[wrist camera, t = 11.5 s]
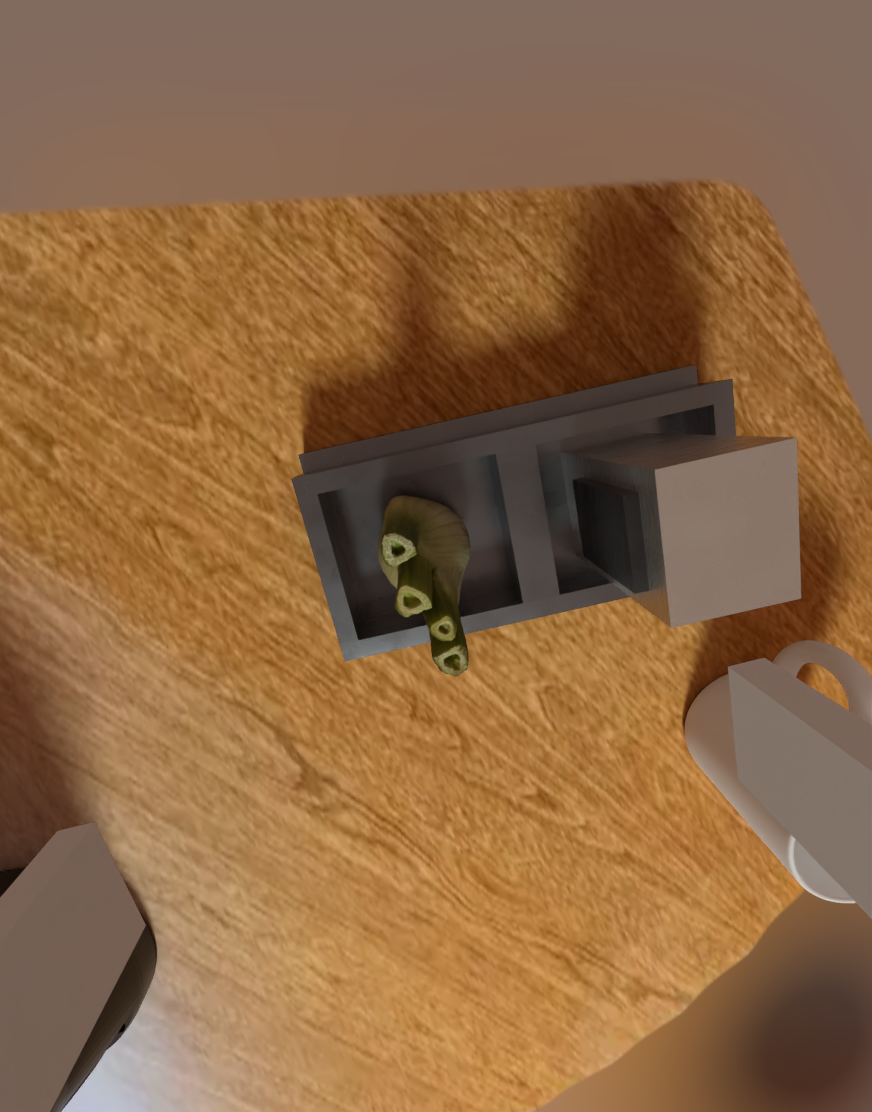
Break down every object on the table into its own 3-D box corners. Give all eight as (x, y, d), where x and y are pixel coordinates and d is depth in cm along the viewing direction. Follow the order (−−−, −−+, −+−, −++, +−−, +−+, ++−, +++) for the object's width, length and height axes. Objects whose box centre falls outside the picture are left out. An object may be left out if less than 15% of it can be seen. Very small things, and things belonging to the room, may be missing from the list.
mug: (711, 606, 32) (845, 686, 23) (829, 619, 33) (1010, 702, 23) (666, 766, 35) (768, 900, 25) (776, 775, 36) (917, 908, 26)
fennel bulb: (379, 486, 28) (361, 530, 16) (468, 488, 28) (511, 533, 17) (379, 586, 29) (362, 692, 18) (463, 587, 30) (500, 692, 18)
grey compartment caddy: (357, 643, 32) (327, 777, 20) (303, 453, 29) (228, 473, 16) (698, 565, 32) (878, 652, 20) (681, 367, 29) (882, 325, 17)
